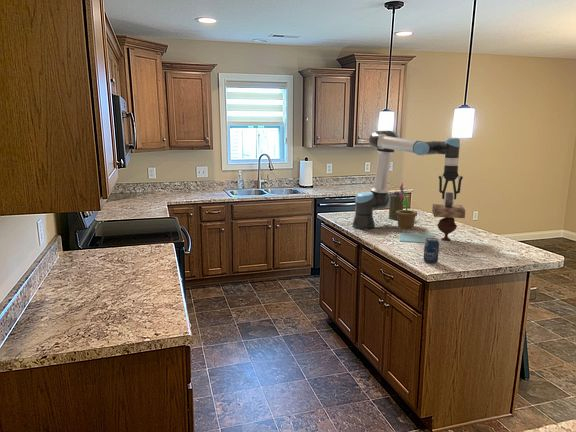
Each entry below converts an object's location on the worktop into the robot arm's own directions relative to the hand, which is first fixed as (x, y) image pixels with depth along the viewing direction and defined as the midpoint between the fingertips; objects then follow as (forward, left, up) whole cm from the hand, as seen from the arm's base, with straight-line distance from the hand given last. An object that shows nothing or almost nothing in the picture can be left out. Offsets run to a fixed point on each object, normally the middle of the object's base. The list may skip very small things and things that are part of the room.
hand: (448, 204), depth 256 cm
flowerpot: (-23, +31, -22) cm, 44 cm away
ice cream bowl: (0, 0, -22) cm, 22 cm away
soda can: (-12, -48, -22) cm, 54 cm away
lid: (0, 0, -6) cm, 6 cm away
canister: (-30, +57, -22) cm, 68 cm away
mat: (-17, 0, -22) cm, 28 cm away
